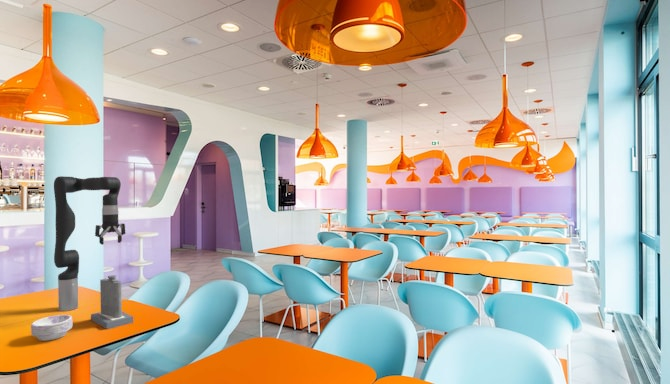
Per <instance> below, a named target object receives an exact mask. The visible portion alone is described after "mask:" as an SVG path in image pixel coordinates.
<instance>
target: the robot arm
mask: <svg viewBox="0 0 670 384" xmlns="http://www.w3.org/2000/svg"><path fill="white" fill-rule="evenodd" d="M121 184H122V183H121V181H120V179H119V178H118V177H115V176H114V177H113V176H100V177H87V178H77V177H74V176H61V175H60V176H57V177H56V178H54V182H53V192H54V193H53V194H54V201H55V244H54V254H53V256H54V257H53V260H54V261H53V262H54V266H55V267H56V268H58V269H62V268H63V269H64V268H66V269H65V270H64V271H63V272H61V273H60V272H59V274H58V275H57V282H58V284H57V287H58V289H57V290H58V291H57V292H58V296H57V298H58V301H57V302H58V303H57V304H58V311H61V312H65V311H67V312H68V311H73V310H76V309H78V308H79V281H78V280H79V277H78V275H79V272H80V271H79V269H80V255H79V252H78V251H77V250H76V249H68V250H66V245H67V242H68V240H69V238H70V237H71V235H72V234H73V232H74V231H75V228H76V215H75V212H74V211H73V209H72V208H71V206H70V205H69V202H68V200H67V194H71V193H77V192H80V191H108V193H107V194H104V195H103V196H102V210H101V212H102V213H101V214H102V215H101V216H102V218H101V219H102V220H101V221H102V224H101V225H100V224H98V225H97V224H96V225H95V228H94V229H95V231H94V232H95V233H94V236H95V237H97V238H99V244H100V245H103V246H104V244H105V243H104V241H105V240H104V237H105V235H106V234H107V233H115V234H117V243H119V244H120V243H121V242H122V241H123V238H122V236H123V235H126V224H125V223H119V207H118V202H119V201H118V197H119V194H120V190H121ZM101 228H102V229H103V230H102V231H101V232H100V230H101ZM119 228H120V230H119Z"/></svg>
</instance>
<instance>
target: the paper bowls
mask: <svg viewBox="0 0 670 384" xmlns="http://www.w3.org/2000/svg"><path fill="white" fill-rule="evenodd" d="M72 328H73V316H72V315H69V314H59V315H58V314H57V315H50V316H46V317H43V318H38V319H36V320H35V321H33V322H32V323H31V324H30V330H31V331H30V333H31V336H32V337H36V338H37V339H38V341H42V342H48V341H54V340H57V339H61V338H62V337H65V336H66V335H67V334H68V331H70V330H71V329H72Z"/></svg>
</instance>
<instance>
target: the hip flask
mask: <svg viewBox="0 0 670 384" xmlns="http://www.w3.org/2000/svg"><path fill="white" fill-rule="evenodd" d="M116 277H117V275H114V274H112V275H107V278H102V279H99V280H100V286H99V287H100V289H99V290H100V312H101V314H104V315H109V316H112V317H114V318H120V317H122V312H123V310H122V302H123V301H122V281H121V280H118V279H117V278H116Z"/></svg>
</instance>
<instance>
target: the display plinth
mask: <svg viewBox="0 0 670 384" xmlns="http://www.w3.org/2000/svg"><path fill="white" fill-rule="evenodd" d="M90 321H92V322H93V323H96V324H97V325H99V326H100V327H102V328H104V329H106V330H109V329H114V328H118V327H121V326H125V325H129V323H130V324H133V323H134V316H132V315H130V314H128V313H126V312H124V311H122V317H120V318H114V317H112V316H109V315H104V314H101V311H99V312H94V313H91V314H90Z"/></svg>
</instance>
